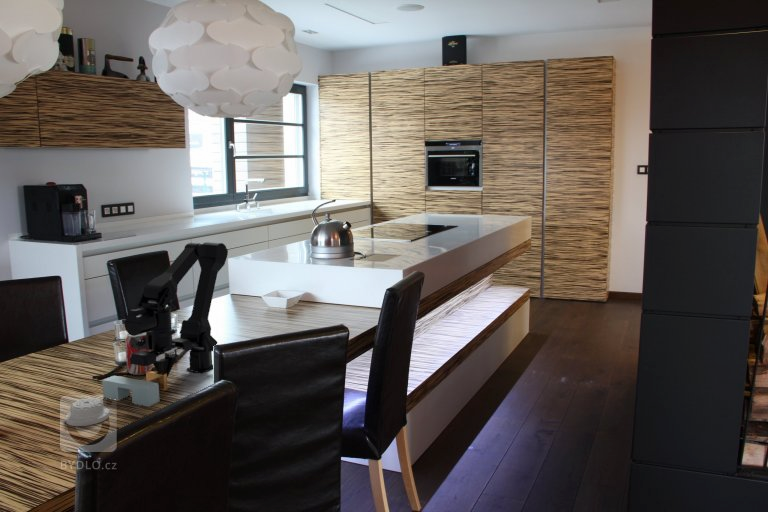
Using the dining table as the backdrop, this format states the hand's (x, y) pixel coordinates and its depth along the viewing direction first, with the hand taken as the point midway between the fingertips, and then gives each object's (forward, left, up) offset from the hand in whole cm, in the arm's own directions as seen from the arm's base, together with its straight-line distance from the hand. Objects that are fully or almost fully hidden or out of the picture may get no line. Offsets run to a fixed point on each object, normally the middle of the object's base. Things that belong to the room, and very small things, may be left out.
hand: (163, 380), depth 187 cm
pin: (+6, 0, -1) cm, 6 cm away
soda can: (-6, -15, -2) cm, 16 cm away
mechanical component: (+26, 0, -2) cm, 26 cm away
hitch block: (+12, 0, -1) cm, 12 cm away
